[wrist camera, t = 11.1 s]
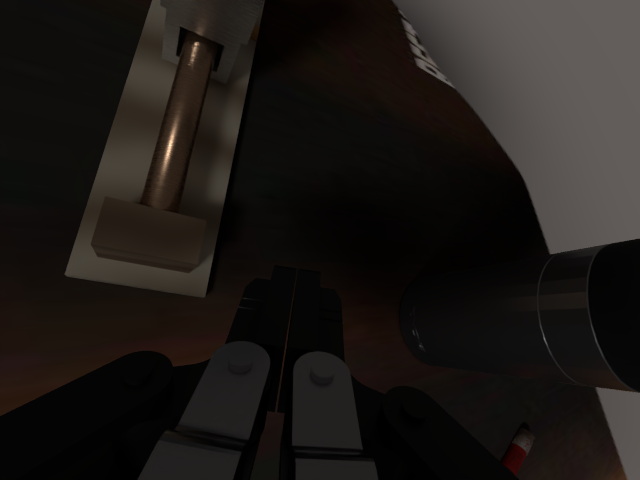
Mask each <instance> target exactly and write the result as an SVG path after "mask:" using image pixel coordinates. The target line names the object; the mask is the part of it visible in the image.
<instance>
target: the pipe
mask: <svg viewBox="0 0 640 480" xmlns="http://www.w3.org/2000/svg"><path fill="white" fill-rule="evenodd" d="M218 44H219V43H217V42H215V41H212V40H210V39H208V38H206V37H203V36H201V35H199V34H197V33H194V32H192V31H190V30H188V29H187V33H186V36H185V40H184V44H183V47H182V51H181V54H180V58H179V62H178V65H177V69H176V73H175V76H174V80H173V84H172V87H171V91H170V95H169V98H168V102H167V105H166V109H165V113H164V116H163V120H162V124H161V127H160V131H159V135H158V138H157V142H156V146H155V149H154V153H153V156H152V160H151V164H150V167H149V171H148V175H147V178H146V182H145V186H144V189H143V193H142V197H141V200H140V205H144V206H148V207H153V208H157V209H161V210H165V211H169V212H173V213H177V214H178V212H179V208H180V203H181V199H182V195H183V191H184V187H185V182H186V178H187V174H188V170H189V166H190V162H191V157H192V153H193V149H194V145H195V141H196V136H197V132H198V128H199V124H200V120H201V116H202V111H203V107H204V103H205V99H206V95H207V90H208V86H209V82H210V78H211V74H212V69H213V65H214V61H215V57H216V53H217V49H218Z"/></svg>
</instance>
